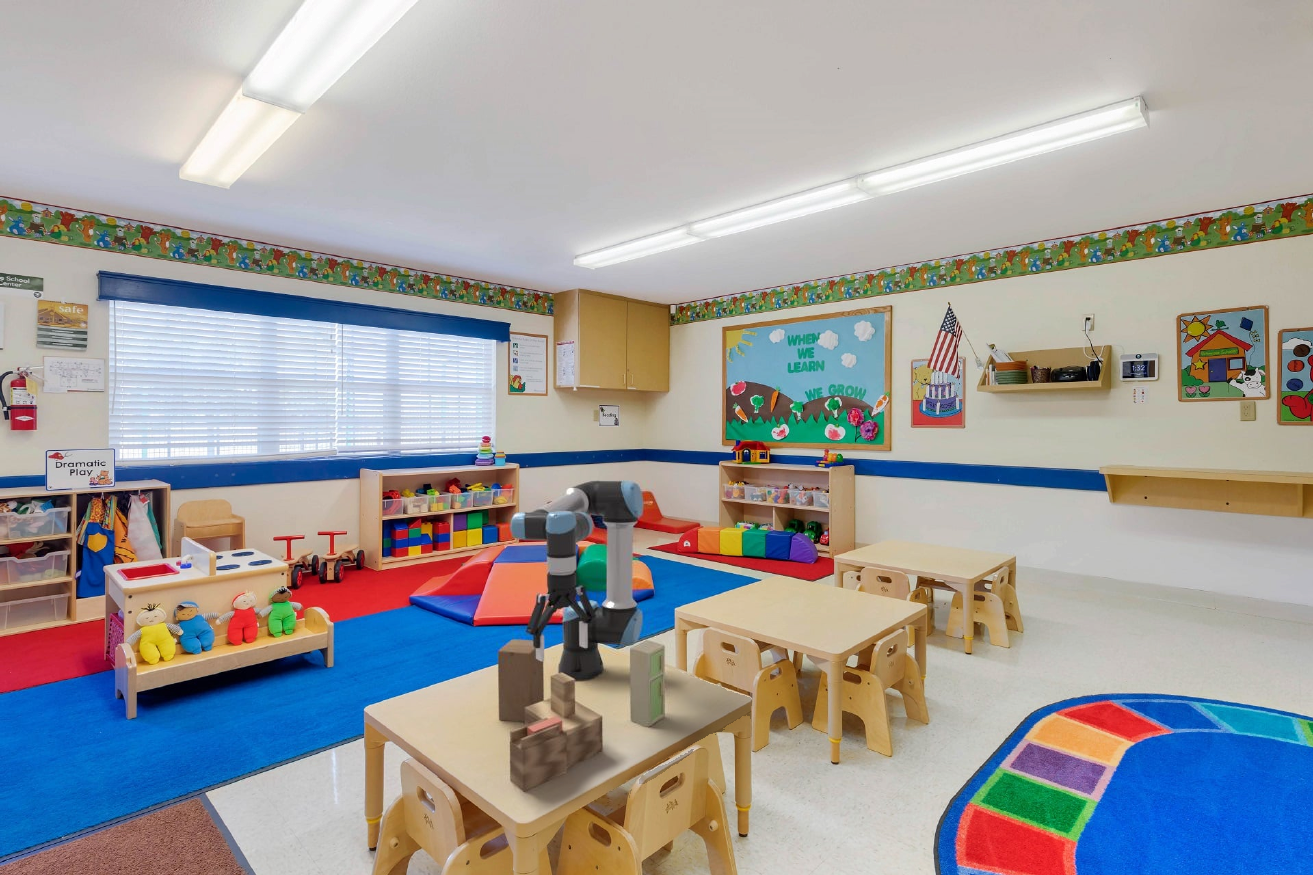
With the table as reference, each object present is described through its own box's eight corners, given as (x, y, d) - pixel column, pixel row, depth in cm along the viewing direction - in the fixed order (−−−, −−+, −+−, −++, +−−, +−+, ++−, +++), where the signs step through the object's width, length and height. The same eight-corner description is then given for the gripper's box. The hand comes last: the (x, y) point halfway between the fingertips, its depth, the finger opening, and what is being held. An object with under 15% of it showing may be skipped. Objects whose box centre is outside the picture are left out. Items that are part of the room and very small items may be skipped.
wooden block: (531, 723, 177) (530, 652, 177) (498, 720, 179) (497, 650, 179) (544, 707, 187) (543, 640, 186) (513, 704, 189) (512, 638, 188)
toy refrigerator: (650, 728, 174) (649, 653, 173) (629, 720, 178) (629, 647, 178) (667, 717, 180) (667, 644, 179) (647, 710, 184) (646, 639, 184)
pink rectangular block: (555, 726, 156) (555, 716, 155) (562, 730, 153) (562, 720, 153) (527, 737, 150) (527, 726, 150) (533, 742, 148) (533, 731, 148)
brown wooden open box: (563, 726, 175) (562, 684, 175) (606, 753, 161) (605, 707, 160) (483, 758, 159) (482, 711, 159) (523, 791, 145) (522, 740, 144)
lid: (562, 698, 175) (562, 661, 175) (602, 720, 162) (602, 681, 161) (524, 711, 167) (524, 673, 167) (563, 736, 154) (562, 695, 153)
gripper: (591, 561, 174) (592, 638, 175) (511, 577, 158) (512, 661, 158) (608, 566, 169) (608, 645, 169) (527, 582, 152) (528, 670, 153)
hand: (562, 653), depth 164 cm, fingers open, 13 cm apart
